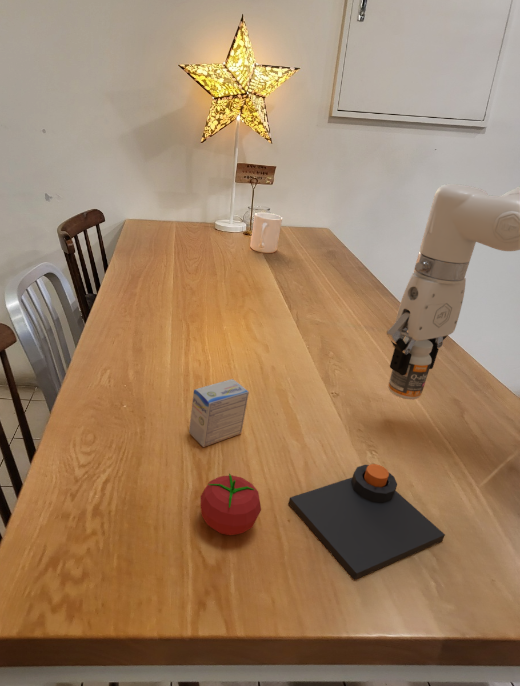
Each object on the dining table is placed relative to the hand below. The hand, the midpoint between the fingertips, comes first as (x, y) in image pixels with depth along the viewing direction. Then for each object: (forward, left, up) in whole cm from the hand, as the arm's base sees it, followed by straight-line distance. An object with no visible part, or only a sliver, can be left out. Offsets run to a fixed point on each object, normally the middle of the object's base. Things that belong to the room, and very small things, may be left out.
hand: (411, 367), depth 92 cm
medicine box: (+32, -8, -12) cm, 35 cm away
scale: (+22, +17, -12) cm, 30 cm away
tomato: (+40, +10, -12) cm, 43 cm away
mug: (-35, -96, -12) cm, 103 cm away
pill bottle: (0, 0, -5) cm, 5 cm away
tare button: (+17, +13, -9) cm, 23 cm away
